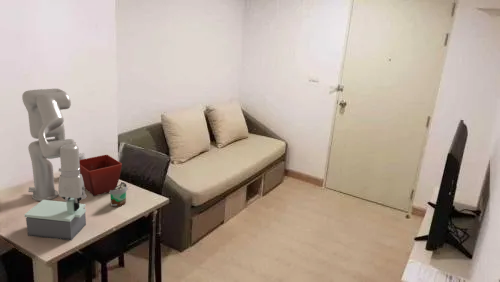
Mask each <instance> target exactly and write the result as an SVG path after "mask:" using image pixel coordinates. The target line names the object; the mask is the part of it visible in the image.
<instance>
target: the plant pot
mask: <svg viewBox="0 0 500 282" xmlns="http://www.w3.org/2000/svg"><path fill="white" fill-rule="evenodd" d="M79 162H80V174H82V177H83V181H84V188H85V190H86V191H87V192H88V193H89V194H91V195H92V196H94V197H95V196H99V195H102V194H107V193H110V190H113V189H114V188H115V187H116V186H118V185H119V180H120V177H121V174H122V166H123V163H122V162H120V161H119V160H117V159H116V158H113V157H112V156H110V155H109V154H103V155H98V156H93V157H89V158H85V159H82V160H79Z"/></svg>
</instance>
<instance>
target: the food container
mask: <svg viewBox="0 0 500 282" xmlns="http://www.w3.org/2000/svg"><path fill="white" fill-rule="evenodd" d="M128 188H129V187H128V185H127V183H125V182H123V181H120V183H119V184H117V186H116V187H115V188H114V189H113V190H110V192H108V193H109V194H108V195H109V196H110V205H111V206H110V207H112V208H118V207H122V205H123V206H124V205H126V203H127V191H128V190H129V189H128Z"/></svg>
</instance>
